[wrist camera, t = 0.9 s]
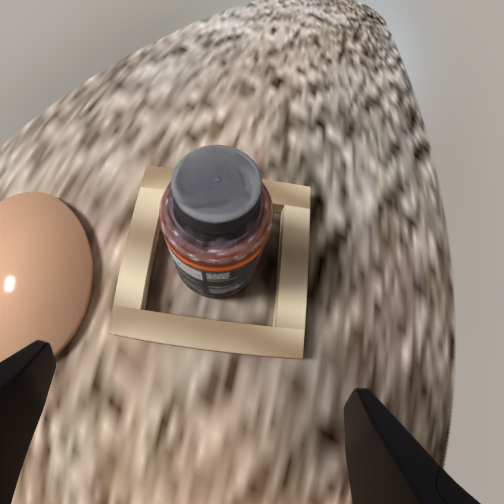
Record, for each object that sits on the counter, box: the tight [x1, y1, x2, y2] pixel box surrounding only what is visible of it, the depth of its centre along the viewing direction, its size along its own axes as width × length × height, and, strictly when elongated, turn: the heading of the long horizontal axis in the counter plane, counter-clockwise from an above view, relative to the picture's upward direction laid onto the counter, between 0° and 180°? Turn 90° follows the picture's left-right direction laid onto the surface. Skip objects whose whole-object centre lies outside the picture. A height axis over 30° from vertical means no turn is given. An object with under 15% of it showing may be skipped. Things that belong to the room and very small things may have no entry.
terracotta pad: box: [0, 192, 93, 362], centre depth 21 cm, size 15×15×1 cm
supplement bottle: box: [159, 145, 274, 298], centre depth 19 cm, size 6×6×11 cm
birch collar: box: [109, 166, 310, 359], centre depth 23 cm, size 13×13×2 cm
